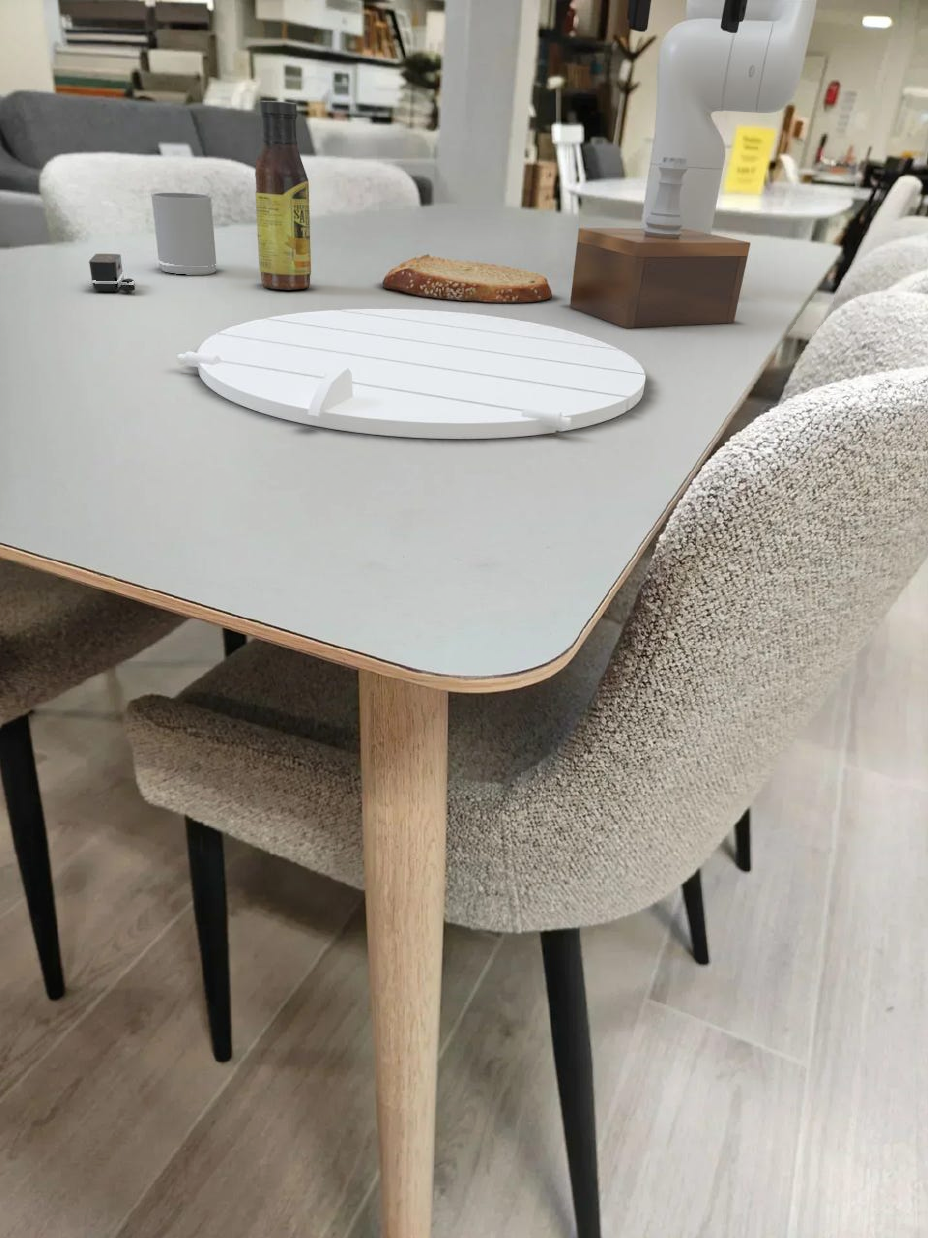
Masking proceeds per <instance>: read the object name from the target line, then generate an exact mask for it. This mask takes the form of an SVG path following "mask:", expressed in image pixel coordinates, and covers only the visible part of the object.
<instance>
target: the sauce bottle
mask: <svg viewBox="0 0 928 1238" xmlns="http://www.w3.org/2000/svg"><path fill="white" fill-rule="evenodd" d="M297 106H298V105H297V103H295V102H290V101H280V100H279V101H278V100H261V101H260V115H261V118H262V128H263V129H262V130H263V138H262V142H263V145H264V146H263V148H262V151H261V154H260V155H259V156H258V158H257V161H256V164H255V172H254V176H255V188H256V190H255V210H256V211H255V212H256V228H257V229H256V231H257V246H258V248H257V249H258V263H259V264H258V265H259V271H260V277H261V278H260V282H261V285H262V286H264V287H265V288H267V289H272V290H285V291H292V290H302V289H307V288H309V287H310V285H311V274H312V262H311V261H312V255H311V253H312V252H311V250H312V249H311V217H310V183H309V178H308V175H307V173H306V170H305V167H304V164H303V161H302V158H301V154H300V152H299V151H300V150H299V147H298V140H297V123H296V122H297V118H298V110H297Z"/></svg>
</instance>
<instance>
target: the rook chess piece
mask: <svg viewBox="0 0 928 1238" xmlns="http://www.w3.org/2000/svg"><path fill="white" fill-rule="evenodd" d="M685 163H686V159H683V158H678V159H677V158H675V160H674V158H668V157H663V162H662V163H661V164H660V165H659V170H660V172H661V179H660V180H659V181H658V183H659V191H658V195H657V199H656V202H655V205H654V208H653V210H652V211H651V215H650V216H648V217H647V219H646V221H645V222H646V224H647V226H648V227H647V228H645V229H644V232H645V235H647V236H651V237H658V238H679V237H680V236H681V234H682V232H681V231H680V230H679V229H680V228H681V227H682V226H683V220H682V219H681V217H680V215H681V213H680V208H679V203H680V190H681V186H682V185H683V182H682V177H683V174H684V173H685V172H686V171H687V170H688V168H687V166H686V164H685Z"/></svg>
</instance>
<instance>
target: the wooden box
mask: <svg viewBox="0 0 928 1238" xmlns="http://www.w3.org/2000/svg"><path fill="white" fill-rule="evenodd" d="M679 230H680V231H681V232H682V234H681V236H680V237H679V238H658V237H651V236H647V235H645V232H644V229H640V228H623V227H622V228H620V227H619V228H617V227H616V228H614V227H613V228H612V227H611V228H610V227H609V228H607V227H606V228H605V227H601V228H600V227H579V228H578V233H577V234H578V235H577V240H576V251H575V256H574V266H573V276H572V284H571V291H570V292H571V293H570V300H569V301H570V302H569V308H572V309H574V310H577V311H580V312H582V313H585V314H587V315H590V316H593V317H596V318H598V319H600V320H603V321H606V322H608V323H611V324H613V325H617V326H619V327H621V328H624V329H633V328H654V327H674V326H675V327H677V326H697V325H715V324H734V323H735V319H736V314H737V310H738V305H739V301H740V295H741V292H742V291H741V290H742V286H743V281H744V277H745V272H746V267H747V261H748V258H749V257H748V256H749V253H750V248H751V242H750V241H745V240H741V239H736V238H730V237H726V236H721V235H717V234H712V233H711V234H707V233H702V232H697V231H692V230H688V229H679Z"/></svg>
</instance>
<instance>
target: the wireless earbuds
mask: <svg viewBox="0 0 928 1238" xmlns="http://www.w3.org/2000/svg"><path fill="white" fill-rule="evenodd" d="M122 263H123V262H122V256H121V254H119V253H95V254H94V255H93V256H92V257H91V258H90V259H89V261H88V264H89V270H90V277H91V281H92V280H96V281H117V280H118V279H119V277H120V275H121V274H122V272H123V273H124V270H123V264H122ZM132 281H134V282H135V279H133V278H129V277H128V278H124V276H123V277H122V278H121V280H120V281H119V283H117V284H95V283H92V282H91V284H92V289H94V290H95V292H99V293H116V292H117V291H118V290H119V289H120V287H121V290H122V291H123V292H124V293H129V292H134V291H135V290H136V286H135V285H136V283H134V285H121V282H127V283H129V282H132Z"/></svg>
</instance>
